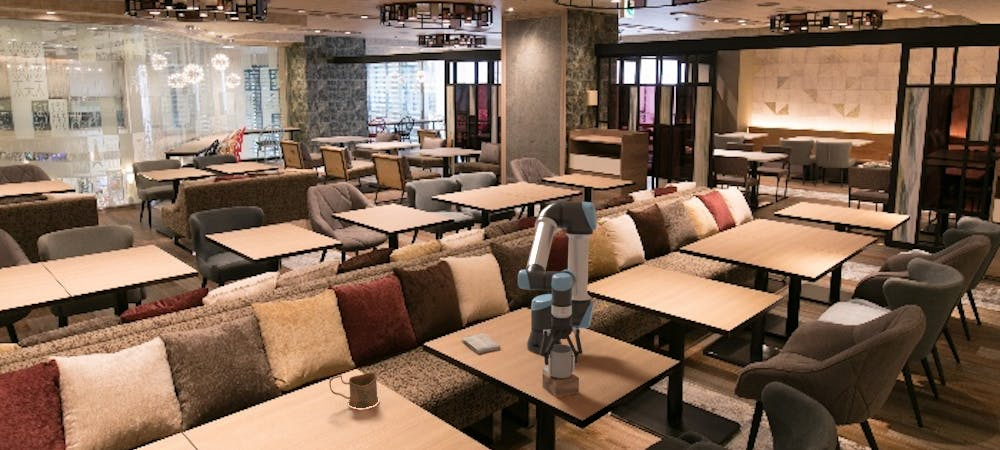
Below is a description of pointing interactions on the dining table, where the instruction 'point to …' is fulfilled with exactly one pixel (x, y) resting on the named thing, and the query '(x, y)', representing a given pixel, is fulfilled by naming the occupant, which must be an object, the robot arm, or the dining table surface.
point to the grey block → (545, 370)
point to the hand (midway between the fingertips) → (560, 371)
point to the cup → (561, 361)
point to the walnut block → (560, 385)
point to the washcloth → (480, 343)
